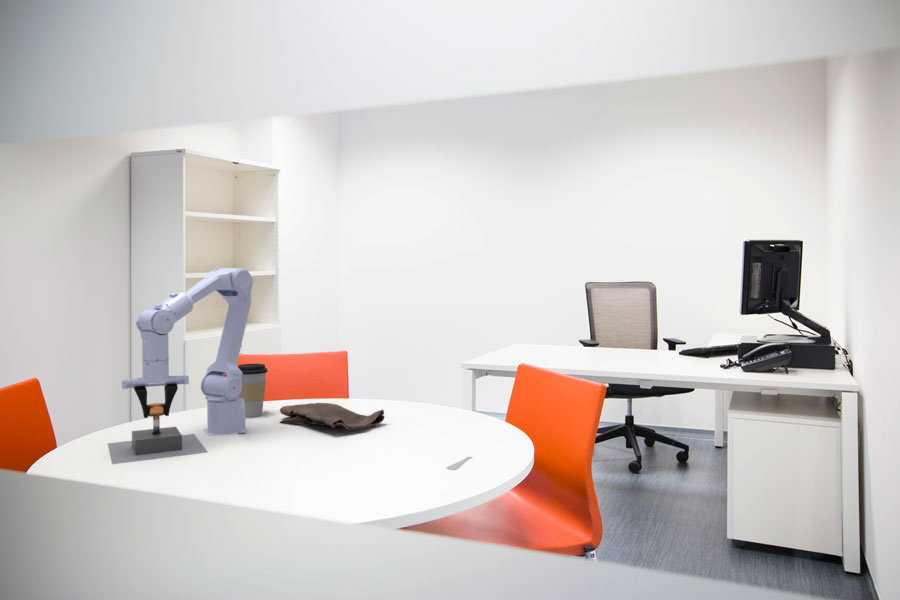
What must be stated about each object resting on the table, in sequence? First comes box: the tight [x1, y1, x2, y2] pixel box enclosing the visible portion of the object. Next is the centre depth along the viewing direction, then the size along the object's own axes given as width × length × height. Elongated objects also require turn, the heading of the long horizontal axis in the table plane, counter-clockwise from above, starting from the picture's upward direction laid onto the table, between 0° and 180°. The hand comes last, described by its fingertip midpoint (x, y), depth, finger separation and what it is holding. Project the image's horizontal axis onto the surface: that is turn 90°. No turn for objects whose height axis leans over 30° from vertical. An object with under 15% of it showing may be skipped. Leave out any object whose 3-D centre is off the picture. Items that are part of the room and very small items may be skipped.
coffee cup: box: [237, 363, 268, 418], centre depth 196 cm, size 9×9×15 cm
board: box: [107, 433, 208, 465], centre depth 157 cm, size 20×20×1 cm
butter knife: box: [446, 456, 473, 471], centre depth 153 cm, size 1×24×3 cm
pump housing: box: [131, 426, 183, 455], centre depth 157 cm, size 10×10×4 cm
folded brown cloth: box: [279, 402, 385, 431], centre depth 186 cm, size 32×20×5 cm, turn 47°
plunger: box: [147, 402, 165, 434], centre depth 157 cm, size 4×4×7 cm
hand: (156, 416), depth 157 cm, fingers closed on plunger, 4 cm apart
